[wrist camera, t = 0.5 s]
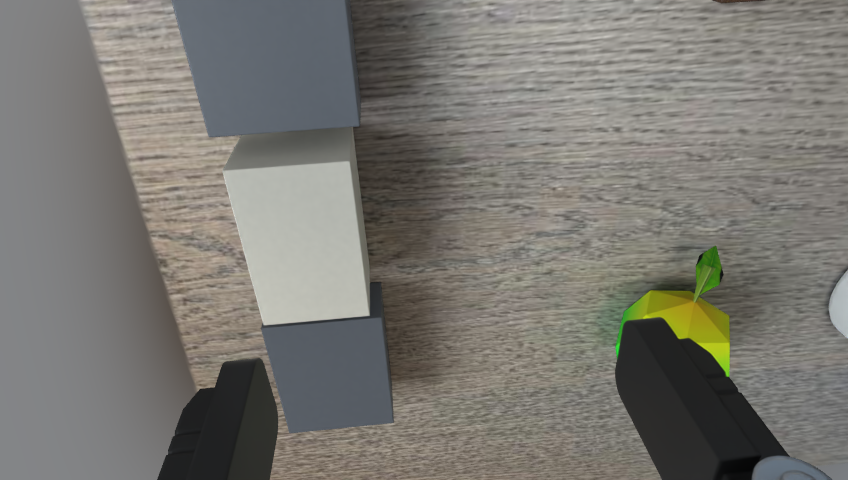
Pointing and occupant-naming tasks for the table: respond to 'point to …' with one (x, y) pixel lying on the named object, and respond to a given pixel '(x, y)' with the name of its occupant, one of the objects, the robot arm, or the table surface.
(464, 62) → the table surface
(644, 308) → the apple
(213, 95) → the pair of grey blocks
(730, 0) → the tray
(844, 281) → the mug
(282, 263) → the cream rectangular block
